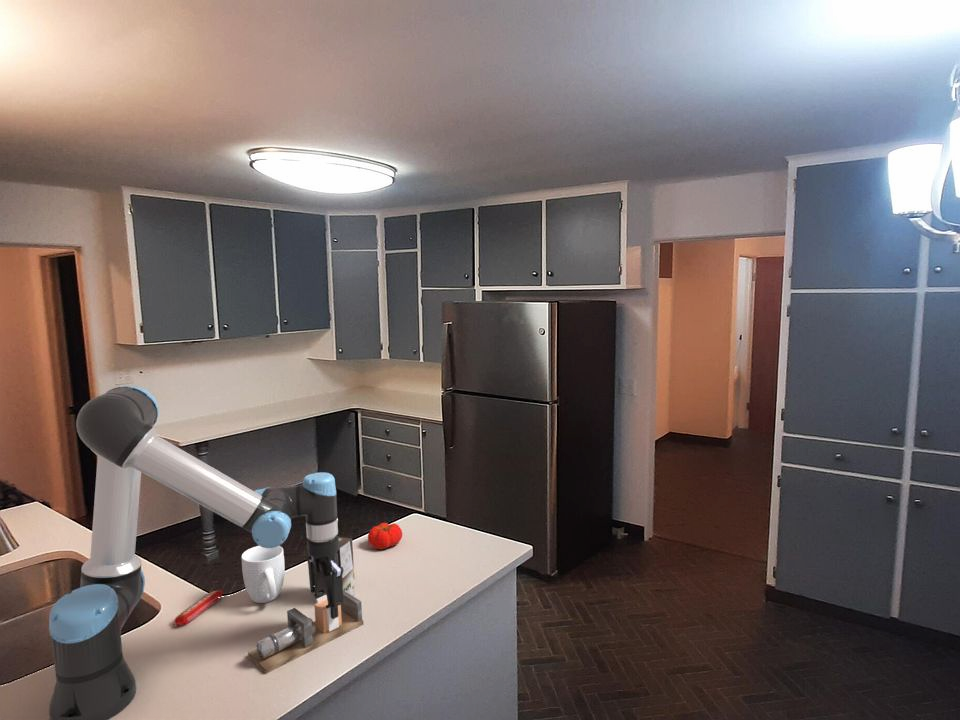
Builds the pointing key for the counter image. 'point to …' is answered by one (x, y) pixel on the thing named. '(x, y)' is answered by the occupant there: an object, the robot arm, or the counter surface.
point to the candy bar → (198, 608)
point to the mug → (263, 572)
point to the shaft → (280, 640)
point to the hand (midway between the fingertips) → (328, 624)
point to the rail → (309, 642)
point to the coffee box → (346, 564)
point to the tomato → (384, 535)
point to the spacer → (324, 616)
